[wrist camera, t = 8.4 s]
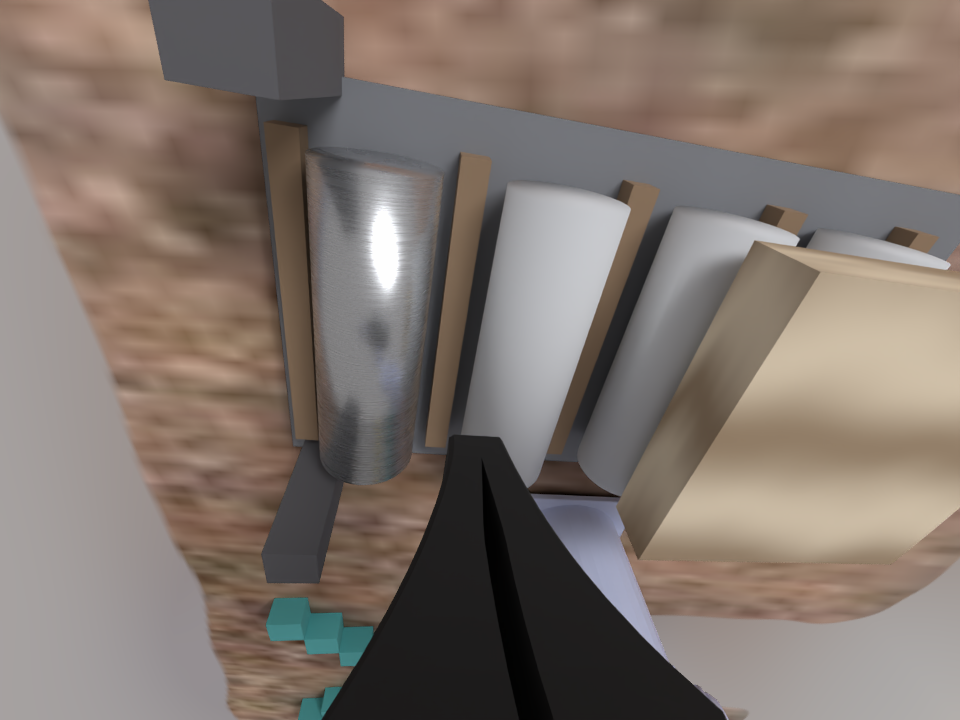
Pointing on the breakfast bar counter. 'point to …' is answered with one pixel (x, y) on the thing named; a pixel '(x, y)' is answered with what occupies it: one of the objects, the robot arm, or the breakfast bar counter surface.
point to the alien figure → (317, 642)
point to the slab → (809, 418)
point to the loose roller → (369, 303)
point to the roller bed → (596, 175)
